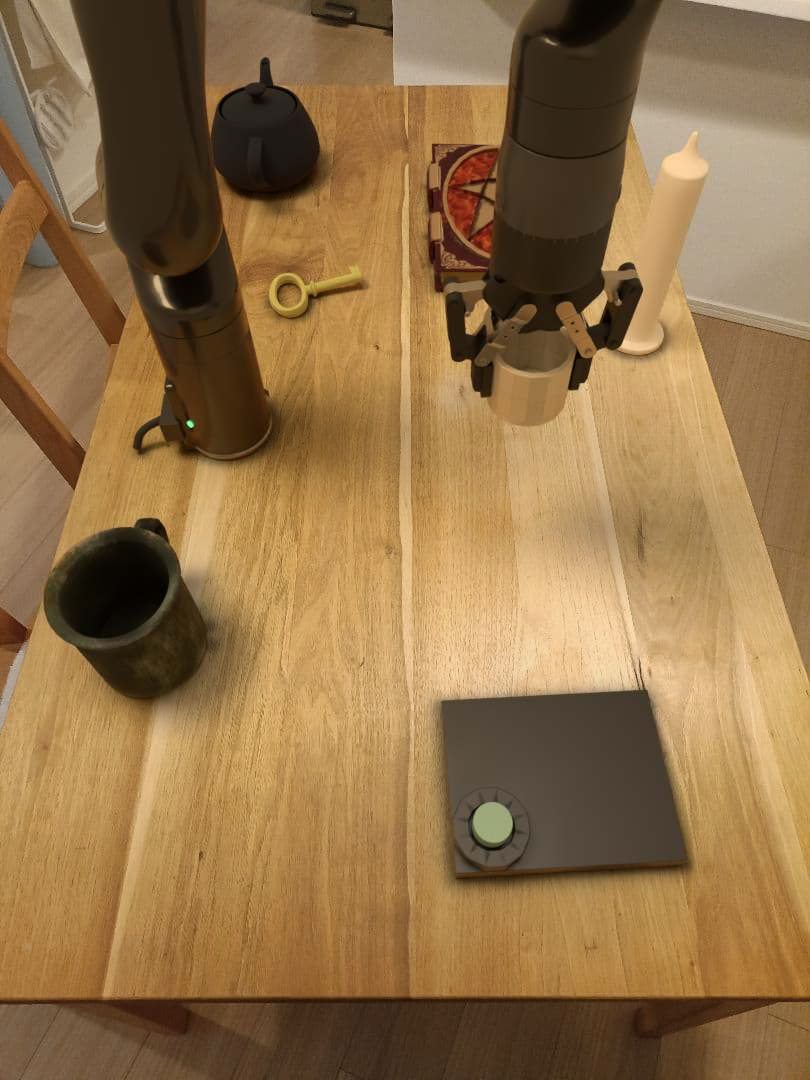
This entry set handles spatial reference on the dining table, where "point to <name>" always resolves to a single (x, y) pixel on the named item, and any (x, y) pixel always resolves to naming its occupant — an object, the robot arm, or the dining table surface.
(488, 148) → the book
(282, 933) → the dining table surface
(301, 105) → the teapot
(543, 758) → the scale
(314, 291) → the key
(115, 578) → the mug
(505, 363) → the beige cup
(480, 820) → the button
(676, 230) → the candle
